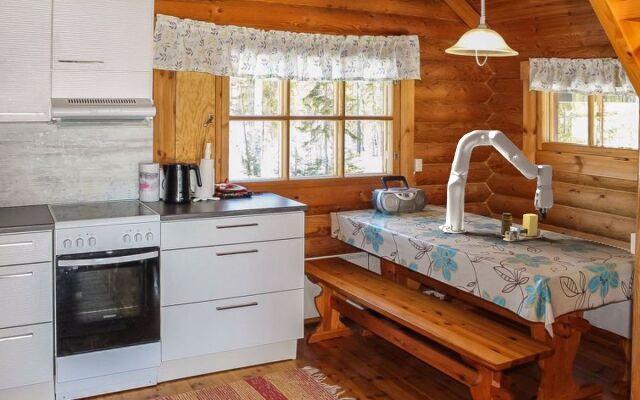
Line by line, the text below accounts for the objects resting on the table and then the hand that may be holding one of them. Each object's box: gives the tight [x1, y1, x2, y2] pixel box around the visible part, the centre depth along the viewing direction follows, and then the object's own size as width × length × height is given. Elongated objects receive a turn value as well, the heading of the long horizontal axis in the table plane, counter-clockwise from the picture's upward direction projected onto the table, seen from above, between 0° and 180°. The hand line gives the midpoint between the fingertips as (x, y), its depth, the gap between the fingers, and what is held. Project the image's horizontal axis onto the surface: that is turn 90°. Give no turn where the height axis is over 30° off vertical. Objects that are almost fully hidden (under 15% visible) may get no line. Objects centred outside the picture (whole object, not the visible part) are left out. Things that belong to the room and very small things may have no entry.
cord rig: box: [502, 227, 543, 242], centre depth 385 cm, size 24×5×5 cm, turn 118°
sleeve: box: [521, 213, 539, 236], centre depth 387 cm, size 6×5×11 cm
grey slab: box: [510, 225, 521, 239], centre depth 382 cm, size 2×5×6 cm, turn 28°
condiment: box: [494, 212, 513, 237], centre depth 396 cm, size 7×8×12 cm
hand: (542, 219), depth 391 cm, fingers closed
